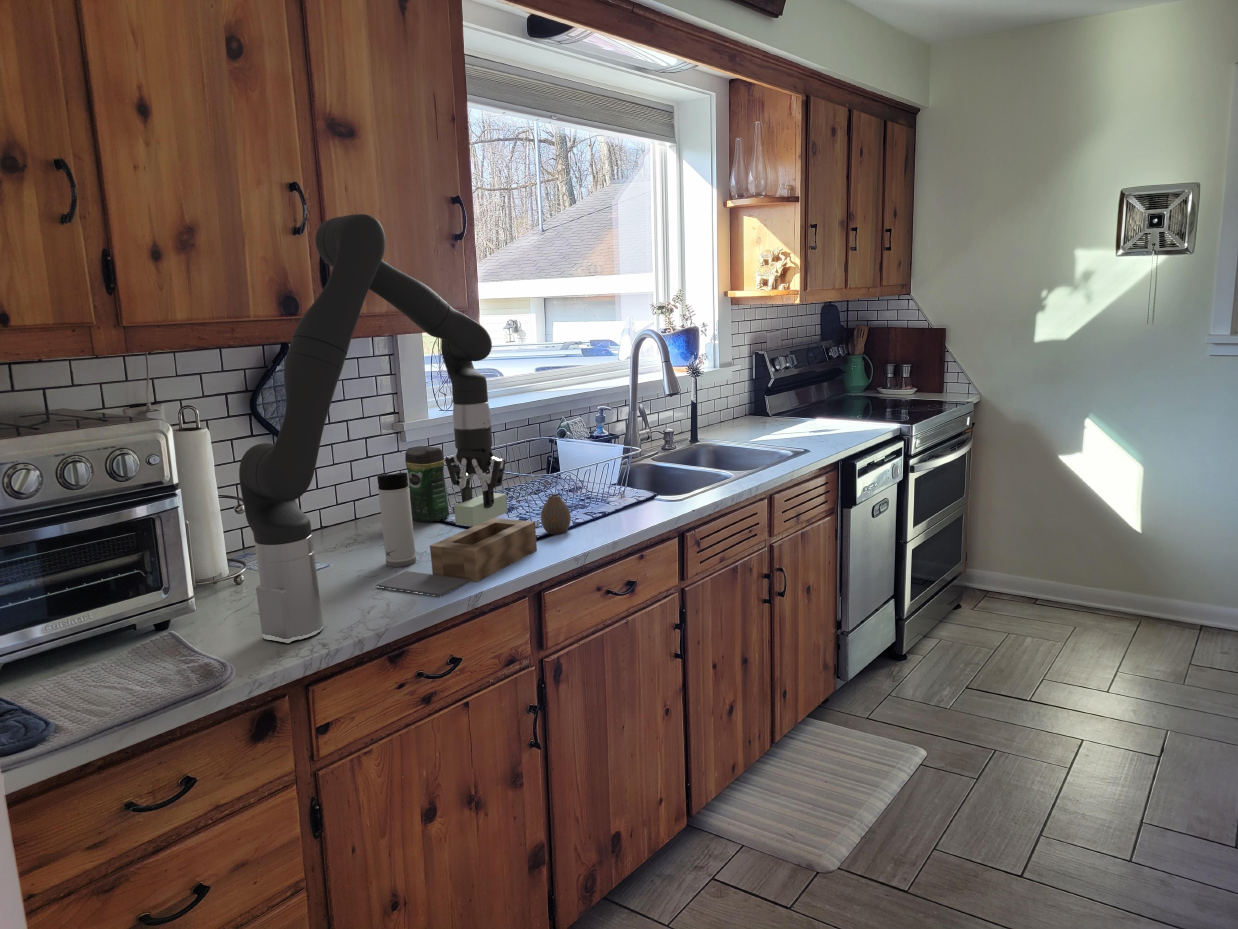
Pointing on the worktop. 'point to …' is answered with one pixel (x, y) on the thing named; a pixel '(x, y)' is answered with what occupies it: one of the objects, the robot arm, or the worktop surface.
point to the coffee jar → (426, 483)
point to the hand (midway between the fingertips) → (478, 506)
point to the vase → (555, 515)
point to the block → (479, 510)
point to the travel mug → (396, 519)
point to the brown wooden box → (483, 549)
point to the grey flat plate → (423, 583)
